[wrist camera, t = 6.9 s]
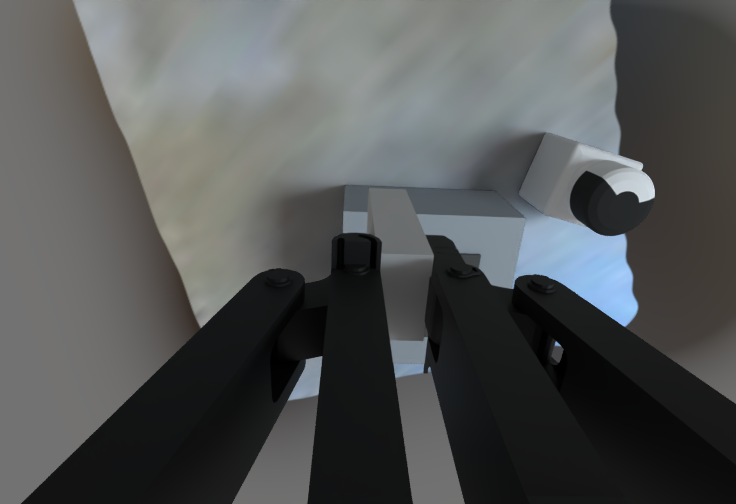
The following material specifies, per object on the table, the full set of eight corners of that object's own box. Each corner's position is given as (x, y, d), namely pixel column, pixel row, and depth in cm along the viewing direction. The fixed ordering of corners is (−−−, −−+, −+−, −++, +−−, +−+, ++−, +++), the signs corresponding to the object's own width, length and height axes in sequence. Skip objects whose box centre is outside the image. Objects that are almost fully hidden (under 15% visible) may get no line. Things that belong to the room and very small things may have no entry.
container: (573, 211, 52) (638, 253, 40) (516, 194, 51) (566, 233, 39) (604, 150, 49) (684, 176, 37) (544, 131, 48) (607, 152, 36)
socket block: (345, 184, 50) (343, 212, 40) (495, 190, 51) (527, 219, 41) (341, 315, 57) (339, 364, 47) (472, 318, 58) (496, 367, 48)
